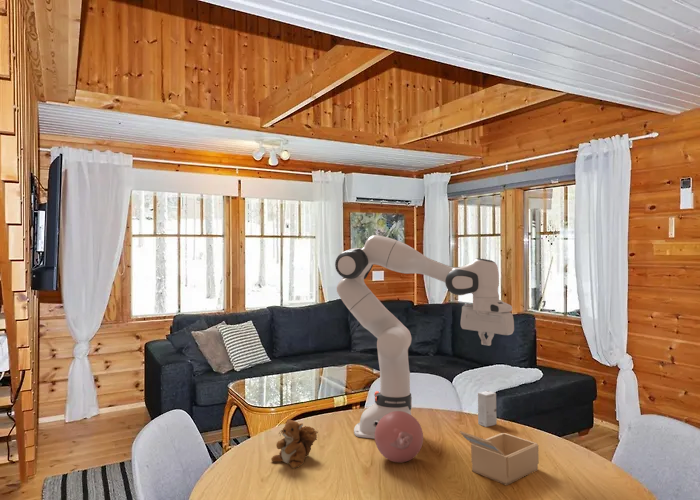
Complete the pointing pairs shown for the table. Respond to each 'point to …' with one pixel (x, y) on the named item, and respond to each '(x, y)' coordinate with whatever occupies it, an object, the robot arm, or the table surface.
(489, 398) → the skincare box
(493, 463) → the carton
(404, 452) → the balloon
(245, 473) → the table surface
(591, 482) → the table surface
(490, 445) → the front flap
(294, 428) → the stuffed squirrel
